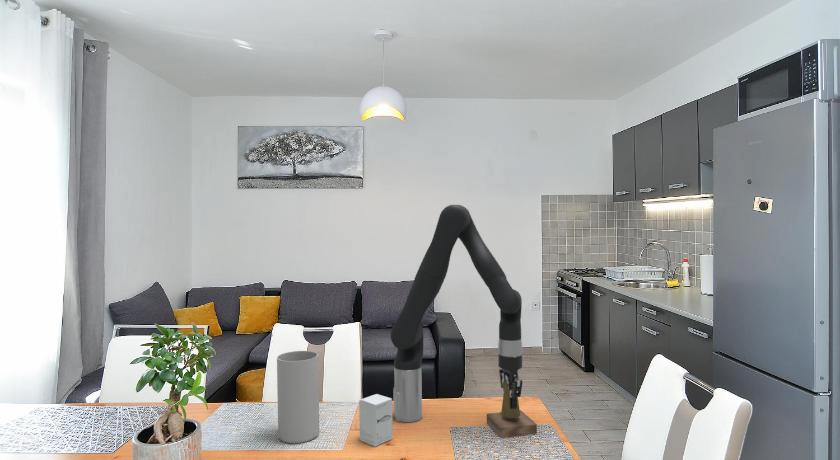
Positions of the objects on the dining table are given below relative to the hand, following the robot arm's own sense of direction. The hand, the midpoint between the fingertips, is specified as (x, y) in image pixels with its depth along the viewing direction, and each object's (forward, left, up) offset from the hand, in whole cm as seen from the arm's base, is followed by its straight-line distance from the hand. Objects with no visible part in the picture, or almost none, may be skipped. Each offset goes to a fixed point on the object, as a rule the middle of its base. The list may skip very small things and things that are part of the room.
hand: (510, 405), depth 163 cm
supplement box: (-43, +2, -7) cm, 44 cm away
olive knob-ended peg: (0, 0, -3) cm, 3 cm away
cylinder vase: (-66, +11, -7) cm, 67 cm away
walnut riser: (0, 0, -7) cm, 7 cm away
